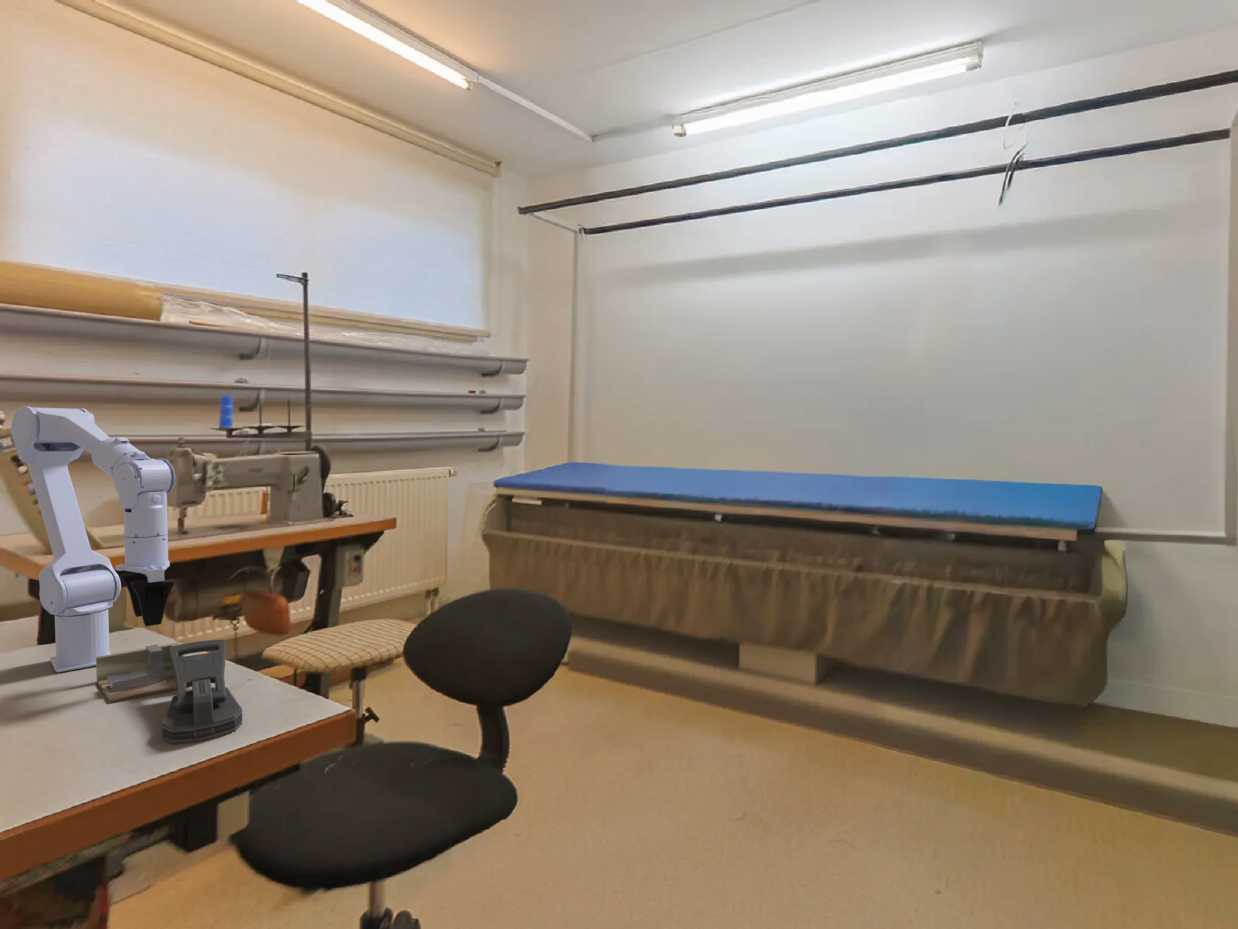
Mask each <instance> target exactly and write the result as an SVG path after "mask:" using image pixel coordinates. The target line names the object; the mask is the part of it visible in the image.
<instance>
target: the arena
mask: <svg viewBox="0 0 1238 929" xmlns="http://www.w3.org/2000/svg"><path fill="white" fill-rule="evenodd" d="M176 645H180V643H178V642H174V643H169V644H165V645H164V644H163V645H158V646H159V647H160V648H161V649H162V650H163V671H164V682H161V683H156V684H152V685H147V686H142V687H138V688H133V689H128V690H123V691H118V692H113V693H112V691H111V690H110V688H109V687H108V676H112V675H117V674H122V673H127V672H132V671H137V670H142V669H147V668H146V647H145V648H139V649H135V650H130V651H122V652H117V653H111V655H105V656H99V657H96V666H95V667H96V668H95V670H96V683H97V684H98V686H99V688H100V690H101V691H102V693H103V695H104V696H105V698H106V699H107V701H108V702H109V704H114V703H119V702H122V701H123V702H124V701H128V700H133V699H136V698H142V697H146V696H151V695H157V694H160V693H166V692H169V691H174V690H177V687H176V683H175V679H174V674H173V670H172V666H171V663H170V659H169V654H168V648H169V647H172V646H176ZM191 655H192V653H190V654H185V655H180V656H179V657H183V656H191Z"/></svg>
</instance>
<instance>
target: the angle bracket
mask: <svg viewBox="0 0 1238 929" xmlns="http://www.w3.org/2000/svg"><path fill="white" fill-rule="evenodd" d="M159 646H160V645H158V644H152V645H148V646H147V645H146V646H145V648H146V668H147V669H142V670H137V671H132V672H127V673H122V674H117V675H112V676H108V687H109V688H110V690H111V691H112V693H113V692H118V691H123V690H128V689H133V688H138V687H142V686H147V685H152V684H156V683H161V682H164V671H163V650H162V649H161V648H160V647H159Z"/></svg>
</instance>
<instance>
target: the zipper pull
mask: <svg viewBox="0 0 1238 929" xmlns="http://www.w3.org/2000/svg"><path fill="white" fill-rule="evenodd" d="M202 652H206V653H202ZM197 653H199V654H197ZM168 654H169V659H170V663H171V666H172V670H173V674H174V679H175V683H176V687H177V689H176V694H175V695H174V696H172V698H171V700H170V703H169V705H168V709H167V711H166V714H165V715H164V718H163V720H162V723H161V733H162V734H161V736H162V737H161V738H162V740H163V741H165V742H167V743H169V744H170V745H180V744H181V745H183V744H192V743H193V744H194V743H198V742H200V743H201V742H205V741H208V740H214V739H217V738H221V737H223V736H227V735H230V734H232V732H234V733H236V732H237V731H238V729H239V728H240V727H241V726H242V725H243V708H242V706H240V704H239V703H238V701H237V700H236V699H235V697H234V695H233V694H232V692H231V691H230V689H229V687H226V683H225V681H226V680H225V669H226V657H227V656H226V655H227V640H226V639H210V640H209V639H208V640H199V641H193V642H186V643H181V644H180V643H179V645H176V646H172V647H169V648H168ZM185 654H191V656H183V657H179V656H180V655H185ZM212 684H214V685H215V686H214V687H212ZM190 687H191V688H192V689H191V690H189V691H187V689H189V688H190Z"/></svg>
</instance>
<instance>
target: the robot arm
mask: <svg viewBox="0 0 1238 929" xmlns="http://www.w3.org/2000/svg"><path fill="white" fill-rule="evenodd" d="M10 433H11V436H12V440H13V442H14V447H15V450H16V453H17V456H18V459H19V460H20V461H22V462H24V463H27V467H28V471H29V474H30V478H31V482H32V484H33V488H34V491H35V495H36V499H37V503H38V506H39V510H40V513H41V518H42V520H43V524H44V527H45V530H46V534H47V537H48V541H49V544H50V548H51V552H52V555H53V556H52V557H53V559H51V561H50V562H49V563H48V564H46V565H45V566H44V567H43V568H42V569H41V570H40V571H39V573H38V582H39V594H38V595H39V596H38V597H39V601H40V604H41V606H42V608H43V609H45V611H47V612H48V613H49V614H50V615H54V631H55V632H54V633H55V637H54V638H55V655H54V656H50V658H49V661H50V663H51V665H52V667H53V670H54V671H55V672H56V673H63V672H67V671H68V672H69V671H73V670H77V669H78V670H79V669H83V668H84V669H85V668H91V667H96V657H99V656H105V655H111V654H112V652H111V651H110V629H109V627H110V626H109V623H110V622H109V608H113V606H114V605H113V603H114V602H115V601H117V599H118V598H119V596H120V594H121V588H122V582H121V579H122V581H123V582H124V584H125V587H126V588H127V591H128V594H129V596H130V601H131V605H132V610H133V613H134V616H135V617H136V618H138V617H141V618H142V621H143V624H144V626H145V627H151V626H157V625H158V626H159V625H162V623H163V620H164V614H165V609H166V606H167V601H168V598H169V597H170V596H169V595H170V593H171V591H172V590H173V587H174V586H175V584H176V580H175V579H174V578H169V579H165V571H166V570H167V569H168V568H169V567H170V565H171V563H170V560H169V539H168V538H169V537H168V536H169V535H168V534H169V532H168V531H169V530H168V494H170V493H171V492H172V491H173V489H174V487H175V485H176V472H175V469H174V466H173V465H172V463H171V462H170V461H169V460H168V459H167V458H151V457H149V456H148V455H147V454H146V453H145V452H144V451H142V450H139V449H138V448H137V447H135V446H134V445H132V444H131V443H130V440H129V439H128V438H126V437H125V436H121V437H118V436H116V437H115V436H113V437H110V436H108V435H107V433H105V432H104V431H103V430H102V428H100V427H98V425H96V421H95V416H94V414H93V413H91V412H90V411H89V410H87V409H86V408H83V407H77V408H65V407H64V408H62V407H61V408H60V407H59V408H58V407H31V406H29V405H27V406H26V405H23V406H21V407H18V409H17V410H16V411H15V413H14V414H13V417H12V422H11V425H10ZM84 451H86V452H88V453H90V454H91V460H92V463H93V464H94V466H96V468H98V469H99V470H101V471H102V472H104V473H105V474H106V475H108V476H109V477H110V478H111V479H113V485H114V489H115V491H116V493H117V494H118V503H119V505H120V508H123V529H124V530H123V532H124V534H123V535H124V538H123V539H124V563H122V564H117V565H115V568H114V567H113V565H112V563H111V560H110V558H109V557H107V556H105V555H103V554H101V553H99V552H96V551H94V550H93V549H92V547H91V545H90V541H89V538H88V534H87V530H86V527H85V523H84V520H83V516H82V513H81V509H80V507H79V503H78V500H77V499H78V498H77V496H76V495H77V494H76V492H75V489H74V485H73V481H72V478H71V475H70V473H69V468H68V466H69V463H71V462H72V461H75V460H77V459H80V457H81V455H82V454H83V452H84ZM116 571H119V572H121V571H125V573H121V574H120V576H119V574H118V573H117V572H116ZM126 572H127V573H126ZM120 577H121V578H120Z"/></svg>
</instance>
